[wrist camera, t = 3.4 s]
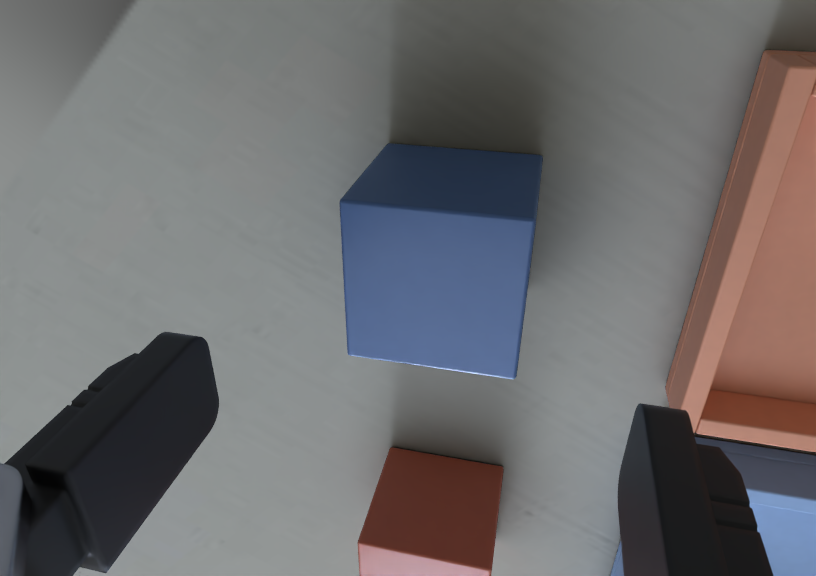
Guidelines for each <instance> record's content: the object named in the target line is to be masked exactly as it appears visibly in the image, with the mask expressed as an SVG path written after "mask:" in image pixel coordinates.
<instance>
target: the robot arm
mask: <svg viewBox="0 0 816 576" xmlns="http://www.w3.org/2000/svg"><path fill="white" fill-rule="evenodd" d="M218 408H219V397H218V392H217V387H216V382H215V377H214V372H213V367H212V362H211V356H210V351H209V347H208V344H207V342H206V340H205V339H204V338H202V337H198V336H192V335H185V334H178V333H171V332H163V333H161V334H159V335H158V336H157V337H156V338H155V339H154V340H153V341H152V342H151V343H150V344H149V345H148V346H147V347H146V348H145V349H144V350H142V351H141V352H140V353H139V354H136V353H134V354H132V355H131V356H129V357H127V358H125V359H123V360H121V361H120V362H118V363H116V364H114V365H112V366H110V367H109V368H107V369H106V370H105V371H104V372H103V373H102V374H101V375H100V376H99V377H98V378H96V379H95V380H94V381H93V382H92V383H91V384H90V385H89V386H88V390H84V391H82V392H81V393H80V394H79V395H78V396H77V397H76V398H75V399H74V400H73V401H72V404H71V406H70V405H67V406H66V407H65V408H64V409H63V410H62V411H61V412H60V413H59V414H58V415H57V416H55V417H54V418H53V419H52V420H51V421H50V422H49V423H48V424H47V425H46V426H45V427H44V428H43V429H41V430H40V431H39V432H38V433H37V434H36V435H35V436H34V437H33V438H32V439H31V440H30V441H29V442H27V443H26V444H25V445H24V446H23V447H22V448H21V449H20V450H19V451H18V452H17V453H16V454H15V455H13V456H12V457H11V458H10V459H9V460H8V461H7V462H6V463H5V464H1V463H0V576H73V575H74V573H75V572H76V571H77V569H78V568H79V567H82V568H86V569H91V570H95V571H99V572H103V573H107V571H108V570H109V569H110V567H111V566H112V564H113V563H114V562H115V560H116V559H117V558H118V556H119V555H120V554H121V552H122V551H123V549H124V548H125V547H126V545H127V544H128V543H129V541H130V540H131V539H132V537H133V536H134V534H135V533H136V532H137V530H138V529H139V528H140V526H141V525H142V523H143V522H144V521H145V519H146V518H147V517H148V515H149V514H150V513H151V511H152V510H153V508H154V507H155V506H156V504H157V503H158V502H159V500H160V499H161V498H162V496H163V495H164V493H165V492H166V491H167V489H168V488H169V487H170V485H171V484H172V483H173V481H174V480H175V478H176V477H177V476H178V474H179V473H180V472H181V470H182V469H183V467H184V466H185V465H186V463H187V462H188V461H189V459H190V458H191V457H192V455H193V454H194V452H195V451H196V450H197V448H198V447H199V446H200V444H201V443H202V442H203V440H204V439H205V437H206V436H207V435H208V433H209V432H210V430H211V429H212V427H213V425H214V423H215V421H216V418H217V414H218ZM618 511H619V523H620V535H621V547H622V559H623V571H624V576H773V572H772V569H771V566H770V563H769V560H768V557H767V554H766V551H765V547H764V544H763V541H762V538H761V535H760V532H758V531H757V527H758V525H757V522H756V519H755V516H754V513H753V510H752V508H750V500H749V497H748V494H747V491H746V488H745V485H744V482H743V478H742V475H741V473H740V472H739V471H738V469H737V468H736V467H735V466H734V465H733V463H732V462H731V461H730V460H729V458H728V457H727V456H726V455H725V454H724V452H723V451H722V450H721V449H720V447H715V446H709V445H702V444H696V440H695V436H694V432H693V428H692V424H691V420H690V417H689V414H688V412H687V411H686V410H681V409H674V408H668V407H661V406H654V405H647V404H641V403H640V404H638V406H637V408H636V411H635V414H634V418H633V422H632V426H631V430H630V434H629V438H628V441H627V445H626V449H625V453H624V457H623V461H622V465H621V469H620V475H619V483H618Z"/></svg>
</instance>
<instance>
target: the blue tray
mask: <svg viewBox="0 0 816 576" xmlns="http://www.w3.org/2000/svg"><path fill="white" fill-rule="evenodd" d="M695 440H696V444H702V445H709V446H715V447H720V449H721V450H722V451H723V452H724V454H725V455H726V456H727V457H728V458H729V460H730V461H731V462H732V463H733V465H734V466H735V467H736V468H737V469H738V471H739V472H740V473H741V475H742V478H743V482H744V485H745V488H746V491H747V494H748V497H749V500H750V508H752V510H753V513H754V516H755V519H756V522H757V525H758V527H757V531H758V532H760V535H761V538H762V541H763V544H764V547H765V551H766V554H767V557H768V560H769V563H770V566H771V569H772V572H773V576H816V455H810V454H803V453H797V452H790V451H784V450H778V449H771V448H765V447H758V446H752V445H745V444H739V443H733V442H726V441H720V440H713V439H707V438H701V437H695ZM610 576H624V571H623V559H622V547H621V541H620V544H619V548H618V551H617V554H616V558H615V561H614V565H613V568H612V571H611V575H610Z"/></svg>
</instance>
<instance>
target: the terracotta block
mask: <svg viewBox="0 0 816 576" xmlns="http://www.w3.org/2000/svg"><path fill="white" fill-rule="evenodd" d="M503 470H504V469H503V467H502V466H496V465H491V464H485V463H479V462H473V461H468V460H462V459H456V458H451V457H445V456H439V455H433V454H428V453H422V452H416V451H410V450H405V449H399V448H393V447H391V448H390V449H389V452H388V455H387V458H386V461H385V464H384V467H383V470H382V473H381V476H380V479H379V482H378V484H377V487H376V490H375V493H374V496H373V499H372V502H371V505H370V508H369V511H368V514H367V517H366V519H365V522H364V525H363V528H362V531H361V534H360V537H359V540H358V555H359V574H360V576H491V571H492V563H493V555H494V546H495V538H496V529H497V521H498V512H499V504H500V495H501V487H502V478H503Z"/></svg>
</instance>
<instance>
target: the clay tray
mask: <svg viewBox="0 0 816 576" xmlns="http://www.w3.org/2000/svg"><path fill="white" fill-rule="evenodd" d="M665 388H666V393H667V397H668V401H669V406H670V408H674V409H681V410H686V411H687V412H688V414H689V417H690V420H691V424H692V428H693V432H694V433H695V432H696V433H698V434H702V435H709V436H715V437H721V438H728V439H734V440H741V441H747V442H754V443H760V444H767V445H773V446H780V447H786V448H792V449H799V450H805V451H812V452H816V52H803V51H780V50H765V51H764V52H763V55H762V58H761V62H760V65H759V69H758V72H757V75H756V79H755V82H754V86H753V89H752V92H751V96H750V99H749V103H748V106H747V110H746V113H745V116H744V120H743V123H742V127H741V130H740V133H739V137H738V140H737V144H736V147H735V151H734V154H733V157H732V161H731V164H730V168H729V171H728V175H727V178H726V181H725V185H724V188H723V192H722V195H721V198H720V202H719V205H718V209H717V212H716V216H715V219H714V222H713V226H712V229H711V233H710V236H709V240H708V243H707V246H706V250H705V253H704V257H703V260H702V263H701V267H700V270H699V274H698V277H697V281H696V284H695V287H694V291H693V294H692V298H691V301H690V305H689V308H688V311H687V315H686V318H685V322H684V325H683V328H682V332H681V335H680V339H679V342H678V346H677V349H676V352H675V356H674V359H673V363H672V366H671V370H670V373H669V376H668V380H667V383H666V387H665Z"/></svg>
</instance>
